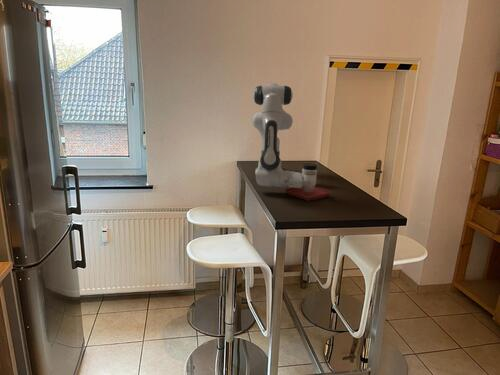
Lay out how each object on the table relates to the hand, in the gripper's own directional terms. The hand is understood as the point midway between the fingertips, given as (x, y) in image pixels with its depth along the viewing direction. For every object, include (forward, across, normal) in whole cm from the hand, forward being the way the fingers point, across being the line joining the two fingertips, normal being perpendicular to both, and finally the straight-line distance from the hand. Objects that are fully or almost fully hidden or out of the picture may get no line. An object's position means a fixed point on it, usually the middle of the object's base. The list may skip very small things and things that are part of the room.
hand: (311, 180), depth 207 cm
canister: (-1, 0, +5) cm, 5 cm away
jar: (0, +24, +8) cm, 25 cm away
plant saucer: (-1, 0, +9) cm, 9 cm away
